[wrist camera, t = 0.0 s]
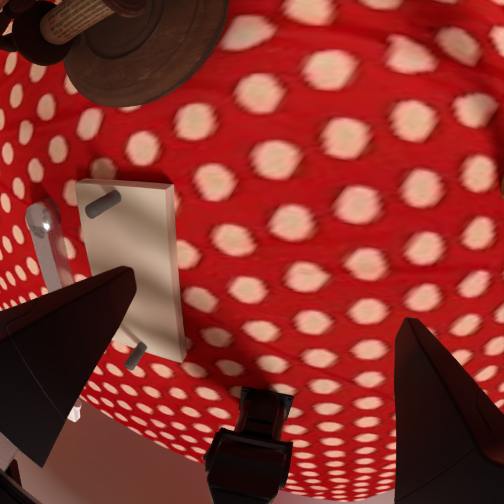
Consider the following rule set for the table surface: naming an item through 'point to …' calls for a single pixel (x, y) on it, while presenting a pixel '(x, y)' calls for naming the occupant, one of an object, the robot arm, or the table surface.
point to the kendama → (502, 187)
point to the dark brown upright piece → (117, 43)
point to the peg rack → (137, 259)
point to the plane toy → (75, 411)
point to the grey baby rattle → (49, 244)
